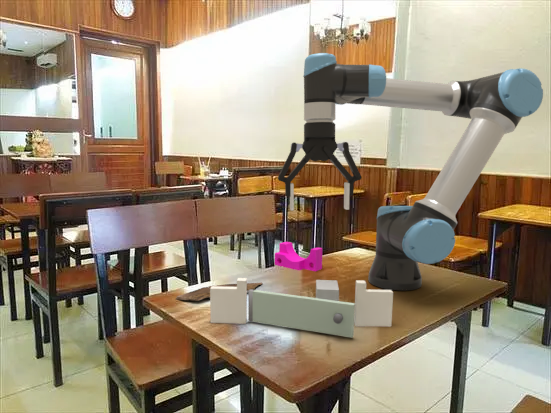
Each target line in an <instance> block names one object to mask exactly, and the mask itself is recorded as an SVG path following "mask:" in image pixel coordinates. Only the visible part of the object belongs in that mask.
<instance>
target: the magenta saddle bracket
mask: <svg viewBox="0 0 551 413" xmlns="http://www.w3.org/2000/svg"><path fill="white" fill-rule="evenodd" d="M278 245H279V247H278V248H279V249H278V250H279V251H278V252H275V253H274V266H277V267H282V266H283V267H282V268H287V269H291V270H295V271H301V270H307V271H310V272H311V271H312V272H318V271H320V270H322V269H323V248H322V247H313V248H311V249H310V252H309V254H308V256H307V257H306V258H305V257H302V256H300V255H299V254H298V253H297V252H296V251H295V249H294V246H293V242H290V241H284V242H279V244H278Z"/></svg>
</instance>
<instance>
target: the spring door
mask: <svg viewBox="0 0 551 413" xmlns="http://www.w3.org/2000/svg"><path fill="white" fill-rule="evenodd" d="M247 299H248V301H247V302H248V303H247V305H248V307H247V314H248V316H247V318H248V321H249V322H253V323H260V324H265V325H271V326H272V325H273V326H279V327H284V328H285V327H286V328H290V329H297V330H303V331H309V332H315V333H321V334H327V335H334V336H341V337H345V338H352V339H353V338H354V333H355V331H354V330H355V324H354V314H355V302H350V301H349V302H347V301H340V300H339V301H334V300H326V299H319V298H316V297H311V296H303V295H296V294H295V295H294V294H287V293H283V292H282V293H280V292H272V291H265V290H260V289H259V290H257V289H254V290H253V289H250V290H249V291H248V298H247Z"/></svg>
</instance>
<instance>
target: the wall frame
mask: <svg viewBox="0 0 551 413" xmlns="http://www.w3.org/2000/svg"><path fill="white" fill-rule="evenodd" d="M247 279H248V278H247V277H237V280H236V284H237V287H222V286H217V285H210V286H211V288H210V297H209V299H210V300H209V302H210V304H209V305H210V323H211V324H237V325H239V324H240V325H242V324H243V325H246V324H247V318H248V316H247V314H248V307H247V305H248V303H247V302H248V301H247V299H248V296H247V295H248V294H247V292H248V291H247V283H248V280H247ZM393 291H394V290H390V289H372V288H371V289H367V282H366V280H362V279H361V280H358V279H356V280H355V291H354V292H355V293H354V303H355V310H354V327H364V328H365V327H392V321H393V305H394V304H393V303H394V302H393V301H394V292H393Z"/></svg>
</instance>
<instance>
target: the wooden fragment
mask: <svg viewBox="0 0 551 413" xmlns="http://www.w3.org/2000/svg"><path fill="white" fill-rule="evenodd" d="M259 285H260V286H261V285H263V282H247V292H249V290H250V289H253V290H256V288H257V287H258V286H259ZM211 286H212V285H209V286H206V287H203V286H202V287H200V288H198V289H195V290H193V291H190V292H187V293H186V292H185V293H183V294H180V295H177V296H176V298H175V300H182V301H196V302H197V301H201V300H204V299H207V298H209V299H210V288H211ZM216 286H222V287H237V283H226V284H219V285H218V284H217V285H216Z"/></svg>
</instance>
